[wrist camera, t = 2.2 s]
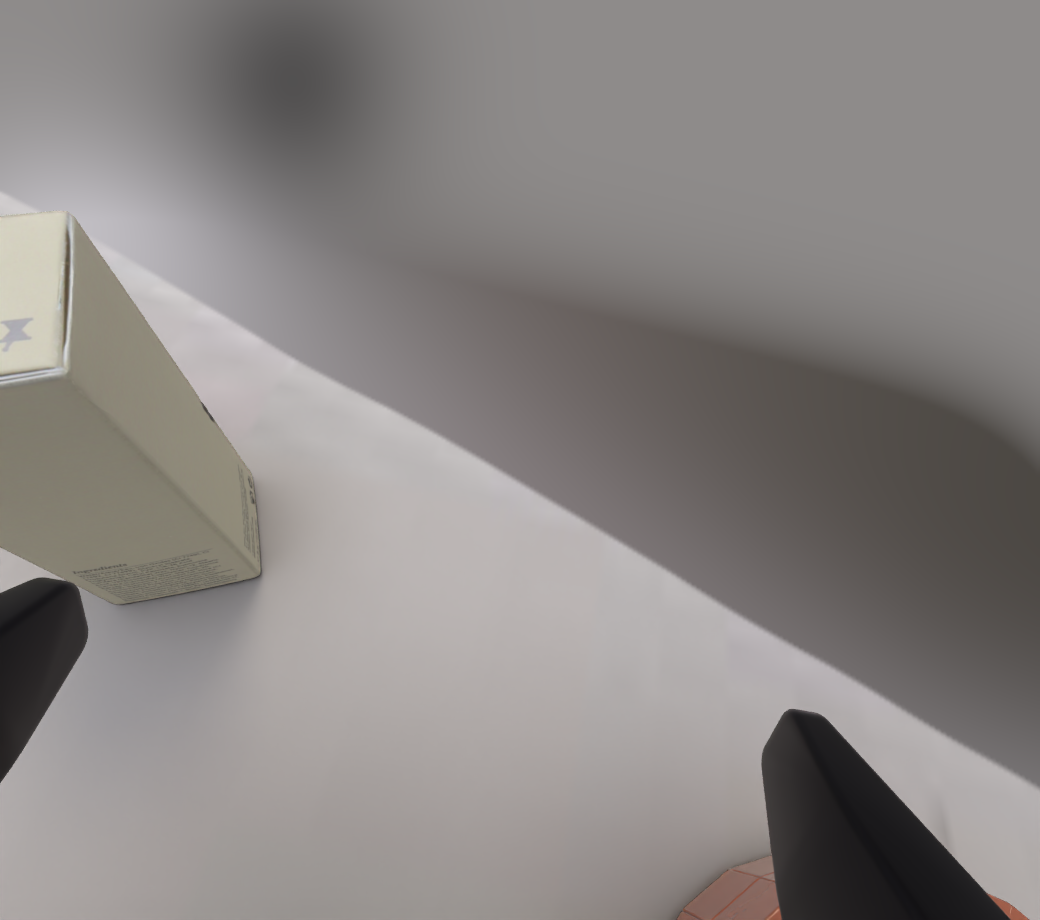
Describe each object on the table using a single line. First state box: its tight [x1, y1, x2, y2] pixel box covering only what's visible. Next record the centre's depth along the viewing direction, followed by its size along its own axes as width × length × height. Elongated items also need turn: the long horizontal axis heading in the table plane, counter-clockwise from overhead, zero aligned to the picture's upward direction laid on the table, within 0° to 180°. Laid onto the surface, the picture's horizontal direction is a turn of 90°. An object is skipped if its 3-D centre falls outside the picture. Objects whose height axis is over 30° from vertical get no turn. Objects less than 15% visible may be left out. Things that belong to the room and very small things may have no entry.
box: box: [0, 211, 261, 605], centre depth 17 cm, size 5×4×13 cm
